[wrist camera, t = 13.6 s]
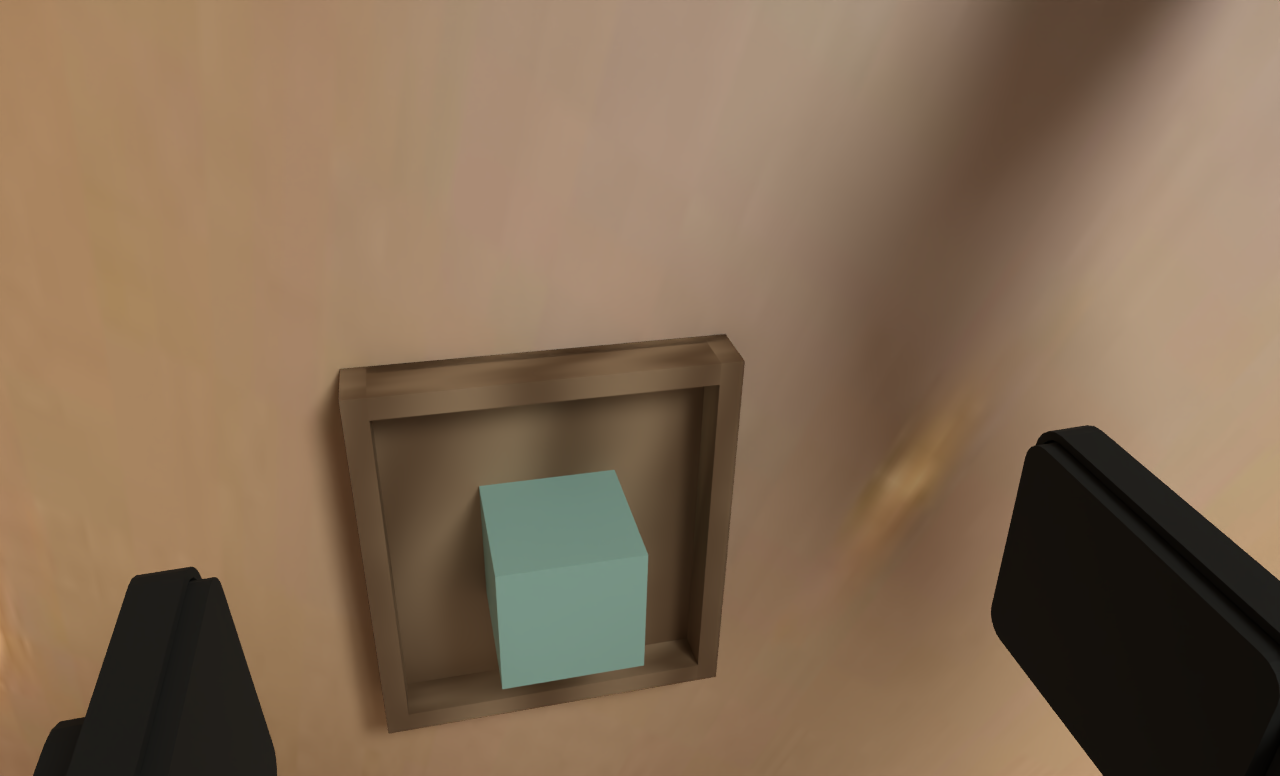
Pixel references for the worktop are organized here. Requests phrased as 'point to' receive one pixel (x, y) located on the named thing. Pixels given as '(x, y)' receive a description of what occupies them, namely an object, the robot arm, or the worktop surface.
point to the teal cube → (563, 577)
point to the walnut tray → (526, 450)
